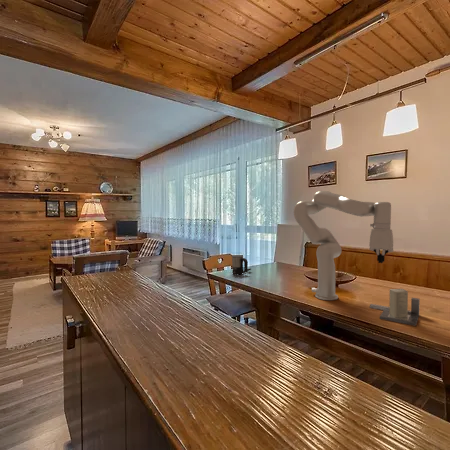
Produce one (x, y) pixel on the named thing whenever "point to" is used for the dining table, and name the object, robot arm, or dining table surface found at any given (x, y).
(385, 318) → the plate
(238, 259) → the milk frother
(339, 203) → the robot arm
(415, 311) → the rail
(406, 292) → the skincare box
